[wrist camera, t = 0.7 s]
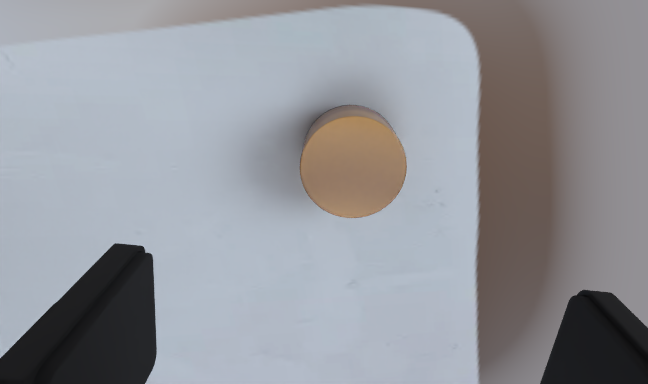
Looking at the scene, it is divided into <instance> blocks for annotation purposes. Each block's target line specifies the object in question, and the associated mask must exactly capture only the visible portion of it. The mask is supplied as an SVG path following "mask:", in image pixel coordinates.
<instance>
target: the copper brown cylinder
mask: <svg viewBox="0 0 648 384" xmlns="http://www.w3.org/2000/svg"><path fill="white" fill-rule="evenodd" d="M406 168H407V165H406V156H405V152H404V149H403V146H402V144H401V143H400V141H399V139H398V137H397V136H396V134H395V132H394V131H393V129H392V127H391V126H390V124H389V123H388V122H387V121H386V120H385V119H384V118H383V117H382V116H381V115H380V114H378V113H377V112H375V111H374V110H371V109H369V108H366V107H363V106H357V105H346V106H340V107H336V108H334V109H331V110H329V111H327V112H326V113H324V114H323V115H321V116H320V117H319V118H318V119H317V120H316V121H315V122H314V123H313V125H312V126H311V128H310V129H309V131H308V133H307V136H306V139H305V142H304V146H303V151H302V155H301V161H300V175H301V180H302V183H303V186H304V188H305V190H306V192H307V194H308V195H309V197H310V198H311V199H312V200H313V202H315V203H316V204H317V205H318V206H319V207H320V208H322V209H323V210H325V211H327V212H329V213H331V214H333V215H336V216H340V217H346V218H358V217H364V216H368V215H371V214H374V213H376V212H378V211H380V210H382V209H383V208H385V207H386V206H387V205H388V204H390V203H391V202H392V201H393V200H394V198H395V197H396V196H397V194H398V193H399V191H400V190H401V188H402V186H403V183H404V180H405V176H406Z"/></svg>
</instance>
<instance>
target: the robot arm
mask: <svg viewBox="0 0 648 384" xmlns="http://www.w3.org/2000/svg"><path fill="white" fill-rule="evenodd" d="M155 360H156V325H155V299H154V274H153V257H152V254H150V253H145V249H144V247H143V246H137V245H127V244H114V245H113V246H112V247H111V248H110V249H109V250H108V251H107V252H106V253H105V254H104V255H103V256H102V257H101V258H100V259H99V260H98V261H97V262H96V263H95V264H94V265H93V266H92V267H91V268H90V269H89V270H88V271H87V272H86V273H85V274H84V275H83V276H82V277H81V278H80V279H79V280H78V281H77V282H76V283H75V284H74V285H73V286H72V287H71V288H70V289H69V290H68V291H67V292H66V294H65V295H64V296H63V297H62V298H61V299H60V300H59V301H58V302H56V303H55V304H54V305H53V306H52V307H51V308H50V309H49V310H48V311H47V312H46V313H45V314H44V315H43V316H42V317H41V318H40V319H39V320H38V321H37V322H36V323H35V324H34V325H33V326H32V327H31V328H30V329H29V330H28V331H27V332H26V333H25V334H24V335H23V336H22V337H21V338H20V339H19V340H18V341H17V342H16V343H15V344H14V345H13V346H12V347H11V348H10V349H9V350H8V351H7V352H6V353H5V354H4V355H3V356H2V357H1V358H0V384H145V383H146V381H147V379H148V377H149V375H150V373H151V371H152V369H153V367H154V364H155ZM540 384H648V328H647V327H646V326H645V325H644V324H643V323H642V322H641V321H640V320H639V319H638V318H637V317H636V316H635V315H634V314H633V313H632V312H631V311H630V310H629V309H628V308H627V307H626V306H625V305H624V304H623V303H622V302H621V301H620V300H619V299H618V298H617V297H616V296H615V295H613V294H612V293H608V292H599V291H589V290H582V291H580V292H579V293H578V294H577V296H573V297H571V299H570V300H569V302H568V305H567V308H566V311H565V314H564V317H563V320H562V323H561V325H560V328H559V331H558V334H557V337H556V340H555V343H554V346H553V349H552V351H551V354H550V357H549V360H548V363H547V366H546V369H545V372H544V375H543V377H542V380H541V383H540Z"/></svg>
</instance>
